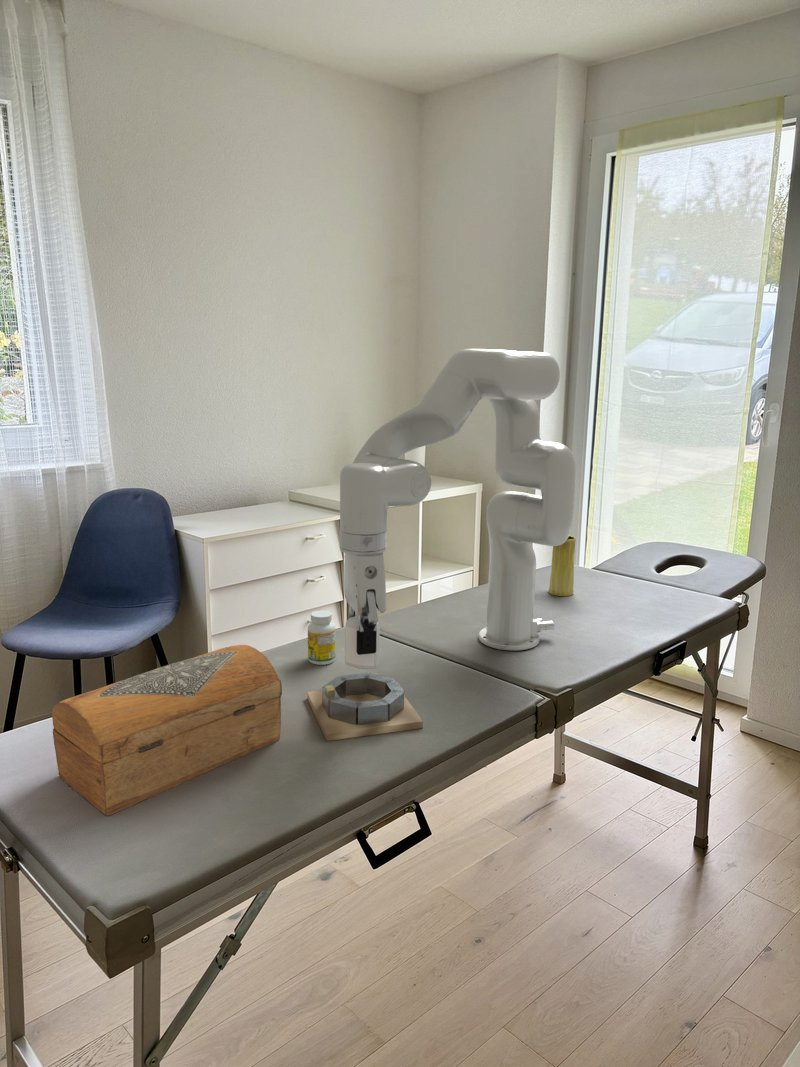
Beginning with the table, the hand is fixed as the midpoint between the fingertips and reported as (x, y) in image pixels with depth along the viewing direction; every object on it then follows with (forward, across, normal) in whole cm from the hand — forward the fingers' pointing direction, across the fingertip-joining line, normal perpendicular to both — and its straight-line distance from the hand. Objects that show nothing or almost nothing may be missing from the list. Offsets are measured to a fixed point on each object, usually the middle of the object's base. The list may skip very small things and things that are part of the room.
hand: (362, 646), depth 136 cm
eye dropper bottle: (+4, 0, 0) cm, 4 cm away
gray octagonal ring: (+11, 0, 0) cm, 11 cm away
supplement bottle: (+12, +24, +2) cm, 27 cm away
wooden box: (+13, -6, +31) cm, 34 cm away
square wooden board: (+12, 0, 0) cm, 12 cm away
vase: (+11, +50, -64) cm, 82 cm away
